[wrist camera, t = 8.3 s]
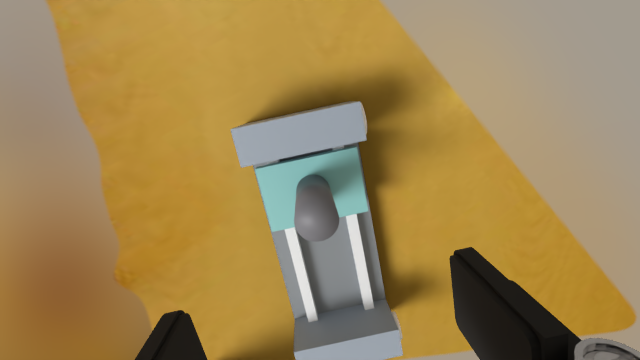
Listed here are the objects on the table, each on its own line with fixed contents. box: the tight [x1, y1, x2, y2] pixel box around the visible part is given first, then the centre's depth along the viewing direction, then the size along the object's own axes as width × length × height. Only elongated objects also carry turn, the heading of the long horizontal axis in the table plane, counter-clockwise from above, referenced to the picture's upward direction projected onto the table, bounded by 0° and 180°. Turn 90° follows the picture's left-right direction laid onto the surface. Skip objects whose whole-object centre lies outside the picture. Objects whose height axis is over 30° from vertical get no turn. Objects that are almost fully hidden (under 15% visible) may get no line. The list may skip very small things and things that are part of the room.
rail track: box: [230, 101, 403, 360], centre depth 29 cm, size 24×10×6 cm, turn 12°
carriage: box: [255, 146, 368, 242], centre depth 24 cm, size 6×9×8 cm, turn 102°
